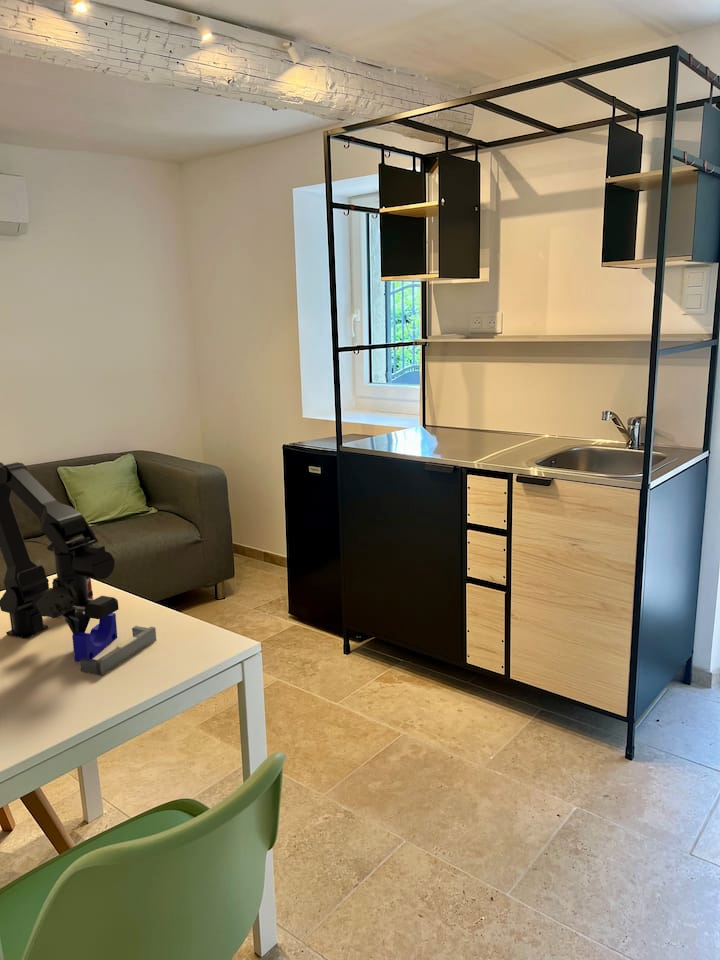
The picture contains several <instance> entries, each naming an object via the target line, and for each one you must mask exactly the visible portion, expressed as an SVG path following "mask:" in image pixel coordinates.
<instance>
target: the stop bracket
mask: <svg viewBox="0 0 720 960" xmlns="http://www.w3.org/2000/svg"><path fill="white" fill-rule="evenodd" d="M131 630H132V636H131V637H129V638H128V639H126V640H124V641H123V642H120V644H118V645H116V646H115V648H114V649H112V650H111V651H109V652H107V653H105V655H102V656H101V657H99V658H98V659H95V658H93V659H90V658H85V657H83V658H82V659H80V660H79V661H80V662H79V667H80V668H79V669H80V672H83V673H87V674H93V675H97V676H101V677H102V676H104V675H105V674H107V673H108V672H110V671H111V670H113V669H114V668H116V667H118V666H119V665H120V664H122V663H124V662H126V660H129V658H131V657H133V656H134V655H136V654H137V653H139V652H140V651H142V650H144V649H145V648H146V647H148V646H150V645H151V644H153V643H154V642H156V641H157V634H156V633H157V631H156V627H155V626H149V627H143V626H138V625H134V626H133V627H132V628H131Z"/></svg>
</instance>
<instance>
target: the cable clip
mask: <svg viewBox="0 0 720 960" xmlns="http://www.w3.org/2000/svg"><path fill="white" fill-rule="evenodd" d="M98 620H99V621H98V624H96V625H94V626H93V627H92V628H91V630H90V632H89V633H88V632H85V633H80V632H76V633H75V634H73V633H72V645H73V647H72V648H73V657H74V663H75V662H76V663H80V661H79V660H80V659H82V658H83V657H85V658H90V659H95V657H96V656H98V655H99V654H100V653H101V652H102V651H104V650H105V649H106V648H107V647H109V645H111V643H113V642H114V641H115V640H117V639H118V628H117V615H116V613H115V612H113V613H111V614H109V615H108V616H106V617H104V618H102V619H98ZM104 648H105V649H104Z"/></svg>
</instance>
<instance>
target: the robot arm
mask: <svg viewBox="0 0 720 960" xmlns="http://www.w3.org/2000/svg"><path fill="white" fill-rule="evenodd" d="M12 492H13V493H14V494H15V495H16V496H17V497H18V498H19V499H20V501H22V502H23V503H24V504H25V506H27V507H28V508H29V509H30V510H31V512H32V513H34V515H35V516H36V517H37V518H38V519H39V521H40V529H41V531H42V532H43V534H44V535H45V537H46V538H47V539H48V540H49V541H50V544H49V545H48V546H47V547H46V549H47V550H48V551H50V552H53V553H54V561H55V562H54V563H55V568H56V569H55V570H56V577H55V578H52V587H50V583H49V578H48V577H47V574H46V570H45V568H44V566H43V565H41V564H40V565H37V564H35V562H33V561H32V560H31V556H30V555H29V552H28V549H27V546H26V542H25V540H24V538H23V535H22V534H23V533H22V532H21V528H20V525H19V524H18V520H17V517H16V515H15V514H16V513H15V511H14V508H13V506H12V502H11V495H12ZM81 537H83V538H81ZM76 539H77V540H76ZM98 542H99V540H98V539H97V537H96V533H95V532H94V530H93V529H92V528H91V526H90V524H88V522H87V520H86V518H85V517H84V515H83V514H82V513H81V512H79V511H78V510H76V509H75V508H74V507H72V506H70V505H68V504H65V503H62V502H60V501H58V500H57V499H56V498H54V496H53V495H52V494H51V493H50V492H49V491H47V489H46V488H45V487H44V486H43V485H42V484H41V483H40V482H39V481H38V480H37V479H36V478H35V477H34V476H33V475H32V474H31V473H30V472H29V471H28V469H27V467H26V465H25V464H24V463H22V462H12V463H8V464H4V463H2V462H1V461H0V551H1V554H2V557H3V560H4V562H5V565H6V571H5V576H4V579H3V583H4V590H5V592H4V593H3V595H2V596H1V598H0V611H1V612H5V613H7V614H9V618H10V629H11V630H8V631H6V632H5V633H6V634H7V635H6V636H10V637H15V638H21V639H30V638H32V637H34V636H35V635H37V634H39V633H42V632H43V631H45V630H47V629H48V628H49V625H48V624H44V619H43V617H44V618H45V617H47V618H51V619H58V618H62V619H64V621H65V622H66V623H67V625H68V628H69V629H70V631H71V633H72V635H73V634H75V633H76V632H80V633H86V632H87V631H86V630H87V628H88V624H89V623H90V620H91V619H95V620H99V619H102V618H104V617H106V616H108V615H109V614H111V613H115V612H116V611H119V609H120V608H119V601H118V599H117V598H116V597H112V596H106V595H100V596H98V597H97V598H96V597H95V598H93V599H89V597H91V596H93V597H94V592H93V590H92V591H89V590H88V585H87V579H89V578H91V579H92V578H93V579H96V580H97V579H98V580H106V579H107V578H109V577H110V576H111V575H112V573H113V572H114V569H115V564H116V563H115V558H114V557H113V555H112V554H111V553H110V552H109V551H106V547H105V545H101V544H98V545H97V543H98Z"/></svg>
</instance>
